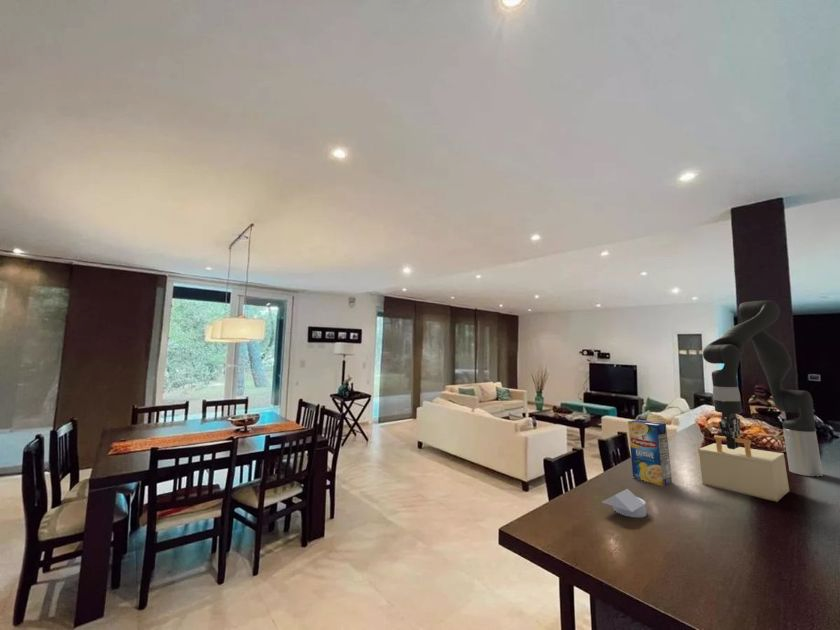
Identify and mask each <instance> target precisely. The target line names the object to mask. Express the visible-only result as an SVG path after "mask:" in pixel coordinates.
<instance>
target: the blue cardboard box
mask: <svg viewBox="0 0 840 630" xmlns="http://www.w3.org/2000/svg"><path fill="white" fill-rule="evenodd" d="M627 424H628V434H629V435H628V436H629V444H630V445H629V446H630V447H629V448H630V456H631V458H630V459H631V469H632V478H633V477H635V478H637V479H636V480H638V479H641V480H640V481H642V480H644V481H643V482H646V481H647V483H649V482H651V483H650V484H653V483H654V485H657V484H658V485H657V486H660V485H661V487H664V485H665V486H667V485H670V484H672V483H673V480H672V479H673V478H672V468H671V459H670V450H669V442H668V431H667V423H665V422H657V421H651V420H650V421H649V420H642V419H634V420H628V421H627ZM635 478H634V479H635Z"/></svg>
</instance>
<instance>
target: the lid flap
mask: <svg viewBox="0 0 840 630" xmlns="http://www.w3.org/2000/svg"><path fill="white" fill-rule="evenodd" d="M713 439H714V440H715V442H714V443H710V444H708V445H705V446H703V447H700V448H698V452H699V451H700V452H706V453H712V454H718V455H724V456H730V457H736V458H741V459H747V460H753V461H759V462H765V463H771V464H772V463H773V462H775V461H777V460H778V459H780V458H781V457H783V456H784V457H785V454H784V453H783V452H775V451H768V450H763V449H754V448H751V445H752V440H751V439H745V438H739V437H738V438H734V439H735V442H738V444H743V445H744V447H743V446H739V447H738V448H736V449H729V448H727V444H722V441H725V442H727V441H726V437H725V436H723V435H722V436H721V435H715V434H714V436H713Z"/></svg>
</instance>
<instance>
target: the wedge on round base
mask: <svg viewBox="0 0 840 630" xmlns="http://www.w3.org/2000/svg"><path fill="white" fill-rule="evenodd" d="M601 503H602V504H606V505H609V506H612V508H613V511H614V510H615V511H616V513H617V514H619V513H620V515H621V514H622V516H625V517H629V516H630V518H644V517H646V516H647V505H646V504H647V503H646V501H645V500H644V499H642V498H640V497H638V496H636V495H635V494H634V493H633V492H632V491H631V490H629V488H626V489H623V490H621V491H620V492H618V493H615V494H614V495H612V496H610V497H609V498H606V499H604V500H602V501H601ZM615 511H614V512H615Z"/></svg>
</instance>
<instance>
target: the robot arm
mask: <svg viewBox="0 0 840 630" xmlns="http://www.w3.org/2000/svg"><path fill="white" fill-rule="evenodd" d="M780 309H781V308H780V307H779V304H778V303H777V302H776V301H774V300H770V299H769V300H754V301H743V302H742V303H740V304H739V306H738V316H739V318H740V321H741V322H740V323H739V324H736V325H734V326H732V327H731V328H729V330H727V331H726V332H725V333H724V334H723V335H722V337H719V338H718V339H716V340H714V341H711V342H710V343H709V344H707V345H706V346H705V347H704V348H703V351H702V357H703V359H704V360H705V361H706V362H707V363H709V364H712V365H713V364H714V365H715V364H716V365H717V364H719V365H720V364H723V366H722V369H717V370H714V371H711V380H712V395H713V405H714V411H715V412H717V413H721V417H720V421H718V425H719V427H720V431H721V434H722V436H724V437H726V441H725V442H726V445H727V448H729V449H736V448H738V447H740V445H739V444H740V443H738V442H735V439H734V438H739V436H740V435H741V432H740V431H741V418H738V417H737V415H738V414H742V413H743V407H742V399H741V393H740V389H739V385H738V384H739V383H738V378H737V376H738V375H737V374H738V369H739V364H740V361H741V352H740V350H742V349H743V348H744V347H745V346H746V345H747V344H748V343H749V341H750V340H751V341H752V342H751V343H752V344H753V346H754V347H753V348H754V349H755V350H754V351H755V353H756V356H757V358H758V361H759V363H760V365H761V368H762V370H763V372H764V374H765V377H766V379H767V383H768V386H769V389H770V390H769V391H770V393H771V396H772V397H771V398H772V401H773V403H774V405H775V408H776V409H777V410H778V411H780V412H785V413H795V414H799V417H796V418H795V419H794V418H793V419H788V420H784V421H782V430H783V436H784V444H785V451H786V457H787V463H788V470H789V472H791V473H792V474H798V475H801V476H807V477H814V476H817V477H819V476H821V477H823V476H824V475H823V474H824V473H823V468H822V462H821V456H820V455H821V454H820V449H819V443H818V442H819V441H818V435H817V430H816V422H815V421H816V420H815V413H814V412H815V411H814V402H813V397H812V395H811V393H810V392H809V391H808V390H796V389H785V388H784V387H783V381H784V379H785V378H786V376H787V374H788V373H789V372H790V370H791V368H792V365H793V362H792V358H791V356H790V353H789V351H788V349H787V347H786V346H785V345H784V344H783V343H782V342H780V341H779V340H777V339H776V338H775V337H774V336H772V335H770V333H768V332H767V331H766V330H765V329H766V328H768V327H769V326H772V324H774V323H775V322H776V321H778V318H779V317H780V313H781V310H780ZM817 477H816V478H817ZM819 478H820V477H819Z"/></svg>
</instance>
